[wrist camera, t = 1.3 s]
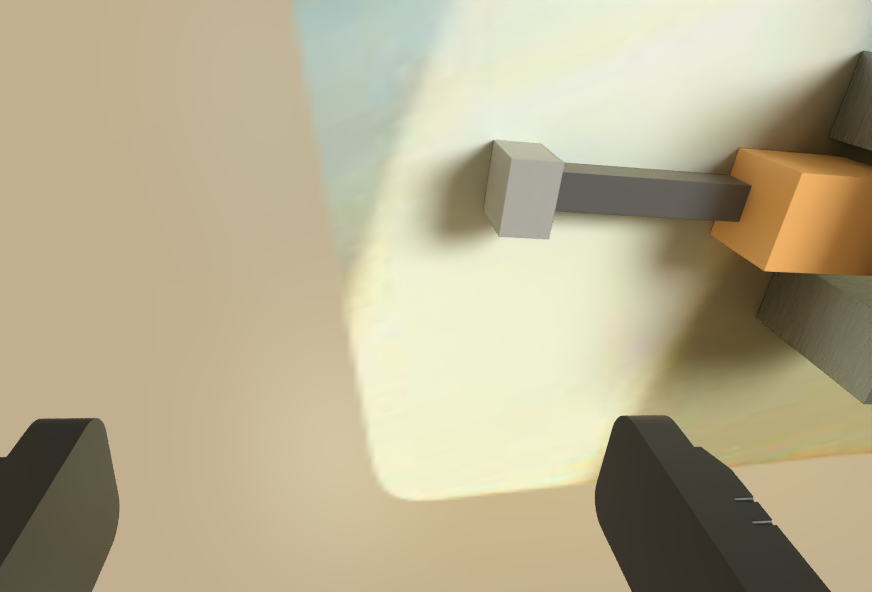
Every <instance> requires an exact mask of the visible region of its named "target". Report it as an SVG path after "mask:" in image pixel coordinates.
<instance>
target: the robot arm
mask: <svg viewBox="0 0 872 592" xmlns="http://www.w3.org/2000/svg"><path fill="white" fill-rule="evenodd" d="M595 505H596V513H597V517H598V521H599V523H600V526H601V528H602V530H603V532H604V535H605V537H606V539H607V541H608V543H609V545H610V546H611V549H612V551H613V553H614V555H615V557H616V560H617V561H618V563H619V566H620V568H621V570H622V572H623V574H624V576H625V578H626V580H627V582H628V585H629V587H630V589H631V591H632V592H831V591H830V590H829V589H828V588H827V586H826V585H825V584H824V583H823V581H822V580H821V579H820V578H819V576H818V575H817V574H816V573H815V572H814V571H813V569H812V568H811V567H810V565H809V564H808V563H807V562H806V561H805V559H804V558H803V557H802V556H801V554H800V553H799V552H798V551H797V549H796V548H795V547H794V546H793V545H792V544H791V542H790V541H789V540H788V538H787V537H786V536H785V535H784V534H783V532H782V531H781V530H780V529H779V528H778V526H777V525H773V524H772V521H771V520H772V519H771V518H770V516H769V515H768V514H767V513H766V511H765V510H764V509H763V508H762V507H761V505H760V504H759V503H758V502H754V501H753V496H752V494H751V493H750V492H749V491H748V490H747V488H746V487H745V486H744V485H743V483H742V482H741V481H740V480H739V479H738V477H737V476H736V475H735V473H734V472H733V471H732V470H731V469H730V468H729V467H727V466H726V465H725V464H723V463H722V462H721V461H719V460H718V459H717V458H715V457H714V456H712V455H711V454H710V453H708V452H707V451H706V450H704V449H703V448H702V447H694V446H693V445H692V444H691V442H690V441H689V440H688V438H687V437H686V436H685V435H684V433H683V432H682V431H681V429H680V428H679V427H678V426H677V424H676V423H675V422H674V421H673V420H672V419H671V418H670V417H668V416H665V415H641V416H620V417H619V418H617V420H616V421H615V423H614V425H613V428H612V432H611V435H610V438H609V442H608V445H607V449H606V452H605V456H604V459H603V463H602V466H601V470H600V473H599V477H598V480H597V484H596V490H595ZM118 519H119V496H118V490H117V485H116V480H115V475H114V470H113V464H112V460H111V454H110V449H109V444H108V439H107V434H106V429H105V426H104V424H103V422H102V421H101V420H100V419H98V418H85V419H84V418H75V419H74V418H71V419H38V420H36V421H35V422H33V423H32V424H31V425H30V426H29V428H28V429H27V431H26V432H25V433H24V435H23V436H22V437H21V438H20V440H19V441H18V443H17V444H16V445H15V446H14V448H13V449H12V451H11V452H10V453H9V454H8V456H7V457H0V592H92V590H93V588H94V586H95V583H96V581H97V578H98V576H99V574H100V571H101V569H102V567H103V565H104V562H105V560H106V558H107V555H108V553H109V551H110V548H111V546H112V543H113V541H114V538H115V534H116V530H117V525H118Z"/></svg>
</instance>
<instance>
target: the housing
mask: <svg viewBox="0 0 872 592" xmlns="http://www.w3.org/2000/svg"><path fill="white" fill-rule="evenodd" d="M828 138H832V139H835V140H838V141H841V142H845V143H848V144H851V145H855V146H858V147H861V148H864V149H868V150H871V151H872V52H868V51H863V52H862V55H861V57H860V60H859V62H858V65H857V67H856V70H855V72H854V75H853V77H852V80H851V82H850V85H849V87H848V90H847V92H846V95H845V97H844V100H843V102H842V105H841V107H840V110H839V112H838V115H837V117H836V120H835V122H834V125H833V127H832V130H831V132H830V135H829V137H828ZM756 318H757V319H758V320H759V321H761V322H762V323H763V324H764V325H766V326H767V327H768V328H769V329H771V330H772V331H773V332H774V333H775V334H777V335H778V336H779V337H780V338H782V339H783V340H784V341H785V342H787V343H788V344H789V345H790V346H792V347H793V348H794V349H795V350H797V351H798V352H799V353H800V354H802V355H803V356H804V357H805V358H807V359H808V360H809V361H810V362H812V363H813V364H814V365H815V366H817V367H818V368H819V369H820V370H822V371H823V372H824V373H825V374H827V375H828V376H829V377H830V378H832V379H833V380H834V381H835V382H837V383H838V384H839V385H840V386H841V387H843V388H844V389H845V390H846V391H848V392H849V393H850V394H851V395H853V396H854V397H855V398H856V399H858V400H859V401H860V402H861V403H863V404H872V276H857V275H836V274H814V273H792V272H774V275H773V277H772V280H771V282H770V285H769V287H768V290H767V292H766V295H765V297H764V300H763V302H762V305H761V307H760V310H759V312H758V315H757V317H756Z"/></svg>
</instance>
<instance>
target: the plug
mask: <svg viewBox="0 0 872 592" xmlns="http://www.w3.org/2000/svg"><path fill="white" fill-rule="evenodd" d="M483 211H484V213H485V214H486V216H487V218H488V219H489V221H490V223H491V224H492V226H493V228H494V229H495V231H496V233H497V234H498V236H499V237H514V238H533V239H549V237H550V232H551V227H552V223H553V218H554V213H555V211H563V212H580V213H596V214H613V215H629V216H646V217H662V218H679V219H695V220H712V221H714V224H713V227H712V230H711V233H710V235H711V236H713V237H714V238H716V239H717V240H719V241H720V242H721V243H723V244H724V245H726V246H727V247H729V248H730V249H732V250H733V251H735V252H736V253H738V254H739V255H741V256H742V257H744V258H745V259H747V260H748V261H750V262H751V263H753V264H754V265H756V266H757V267H759V268H760V269H762V270H763V271H770V272H792V273H814V274H836V275H857V276H872V166H869V165H866V164H863V163H860V162H857V161H854V160H851V159H848V158H845V157H842V156H832V155H820V154H808V153H796V152H784V151H772V150H760V149H748V148H739V150H738V153H737V156H736V159H735V162H734V165H733V168H732V171H731V174H730V175H722V174H708V173H695V172H682V171H668V170H655V169H642V168H628V167H615V166H602V165H588V164H575V163H565V162H563V161H562V160H561V159H560V158H558V157H557V156H556V155H555V154H553V153H552V152H551V151H550V150H548V149H547V148H546V147H545V146H543V145H542V144H538V143H525V142H512V141H500V140H494V142H493V148H492V155H491V162H490V169H489V176H488V182H487V189H486V196H485V203H484V210H483Z"/></svg>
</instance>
